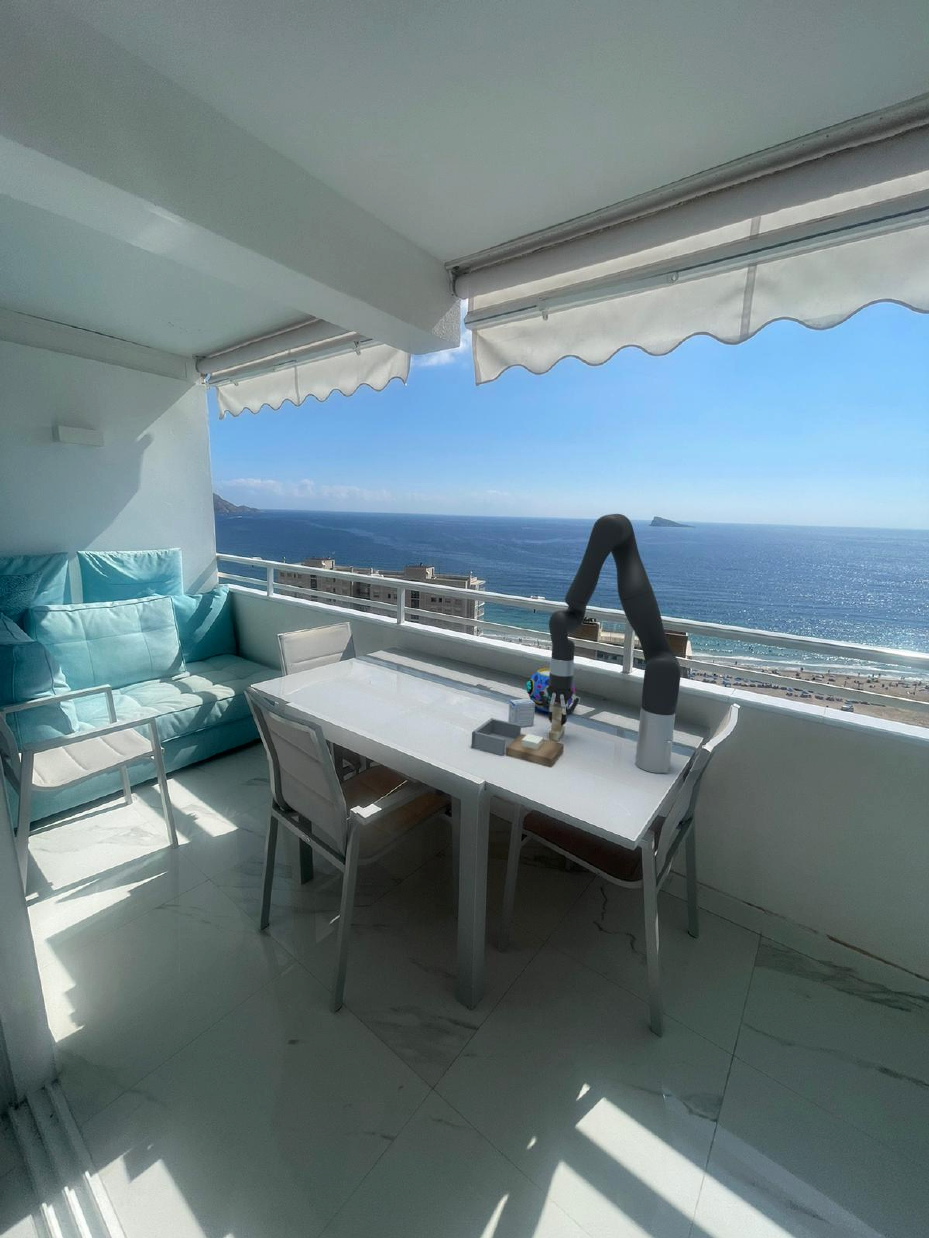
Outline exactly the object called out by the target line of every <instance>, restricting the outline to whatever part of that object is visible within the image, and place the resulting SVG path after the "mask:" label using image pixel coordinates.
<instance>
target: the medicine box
mask: <svg viewBox="0 0 929 1238" xmlns="http://www.w3.org/2000/svg"><path fill="white" fill-rule="evenodd" d="M508 704H509V705H508V718H507V719H508V721H507V722H510V723H515V724H519V725H521V728H526V727H531V726H532V727H533V726H534V725H535V723H534V722H535V711H536V707H535V702H533V701H532V700H530V698H522V699H510V700H509V703H508Z"/></svg>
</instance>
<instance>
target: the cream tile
mask: <svg viewBox="0 0 929 1238" xmlns="http://www.w3.org/2000/svg"><path fill="white" fill-rule="evenodd" d="M525 735H526V736H525V737H524V738H523V739H522V746H524V747H528V748H532V749H536V750H538V749H539V748H540V746H541V745H542V744H543V739H544V737H542V736H538V735H533V734H529V733H527V734H525Z"/></svg>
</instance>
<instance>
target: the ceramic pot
mask: <svg viewBox="0 0 929 1238" xmlns="http://www.w3.org/2000/svg"><path fill="white" fill-rule="evenodd" d="M549 673H550V667H548V668H541V669H538V670H537V671H535V672H534V673H533V674H532V676H531V678H530V679H529V680H528V681H527V682H526V686H525V690H526V693H527V694H528V697H529V699H530V700H532V701H533V702H535V708H537V709H539V710H540V711H543V712H546V713H549V710H548V709H545V708H544V706H543V703H542V700H541V698H540V695H539V692H540V691H541V690H546V689H547V688H548V686H549ZM572 691H573V694H574V695H576V688H575V682H574V681H573V685H572ZM547 699H548V702H549V705H550V702H551V698H550V696H549V694H548V693H547ZM556 704H560V703H556ZM572 704H573V702H572V697H571V698H570V699H569V700H568V708H570V707H571V705H572ZM560 705H561V704H560Z"/></svg>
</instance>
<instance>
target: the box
mask: <svg viewBox="0 0 929 1238" xmlns="http://www.w3.org/2000/svg"><path fill="white" fill-rule="evenodd" d="M521 731H522V727H521V725H519V724H515V723H510V722H508V721H505V720H501V719H497V718H493V717H490V718H489V719H488V720H487V721H486V722H484V723H482V724H481V725H480V726H479V727H477V728H475V730H473V731H472V732H471V749H476V750H478V749H479V750H478V751H481V752H482V751H483V752H487V753H491V754H494V755H498V756H502V757H504V756H505V755H506V747H507V746H508V745H509V744H510V743H511V742H513V741H514V740H515V739H516V738H517V737H518V736H519V735H520V734H522V733H521Z"/></svg>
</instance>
